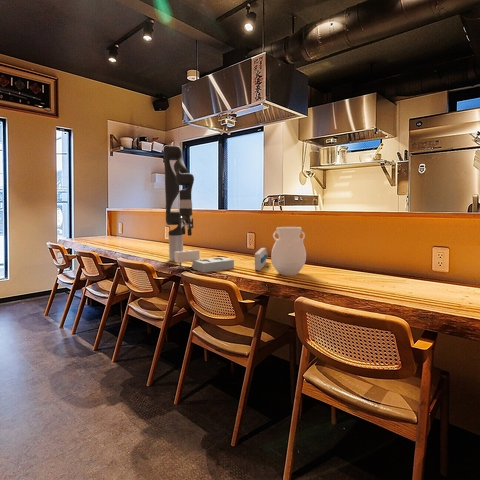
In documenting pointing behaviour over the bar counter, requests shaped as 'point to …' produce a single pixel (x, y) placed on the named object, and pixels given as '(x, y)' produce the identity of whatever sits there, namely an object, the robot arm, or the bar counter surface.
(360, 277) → the bar counter surface
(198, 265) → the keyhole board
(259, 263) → the decorative sign
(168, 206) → the robot arm
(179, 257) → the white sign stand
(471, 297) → the bar counter surface
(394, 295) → the bar counter surface
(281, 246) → the white vase
